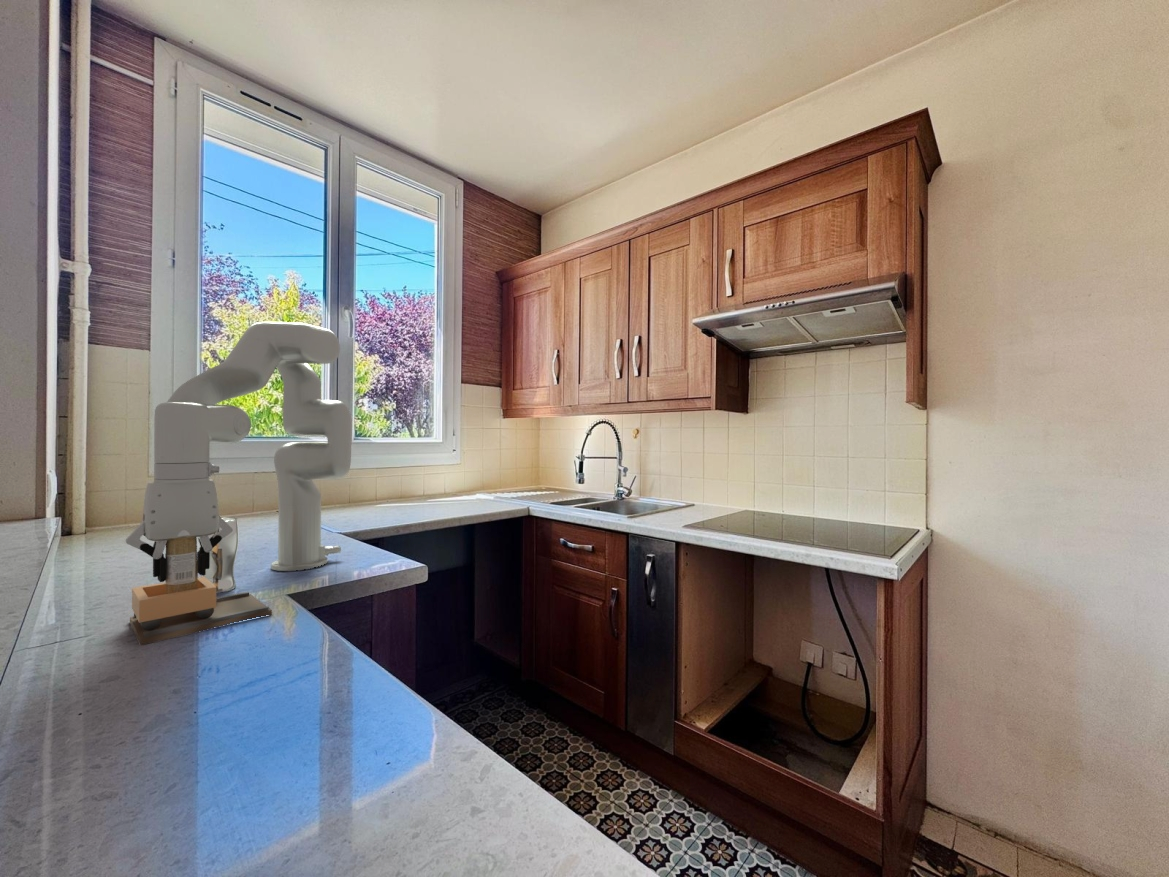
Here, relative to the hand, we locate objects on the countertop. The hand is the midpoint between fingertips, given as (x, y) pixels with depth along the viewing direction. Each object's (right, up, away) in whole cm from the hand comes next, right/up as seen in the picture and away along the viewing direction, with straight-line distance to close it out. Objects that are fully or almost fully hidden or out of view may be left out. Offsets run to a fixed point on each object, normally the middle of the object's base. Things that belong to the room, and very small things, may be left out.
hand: (181, 576), depth 86 cm
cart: (-1, -7, -1) cm, 7 cm away
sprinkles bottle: (0, -4, 0) cm, 4 cm away
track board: (+2, -8, +2) cm, 9 cm away
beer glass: (-8, -9, +19) cm, 23 cm away
